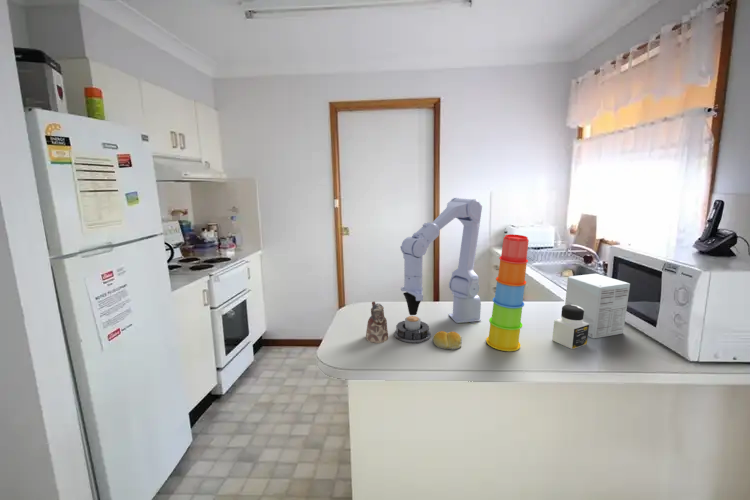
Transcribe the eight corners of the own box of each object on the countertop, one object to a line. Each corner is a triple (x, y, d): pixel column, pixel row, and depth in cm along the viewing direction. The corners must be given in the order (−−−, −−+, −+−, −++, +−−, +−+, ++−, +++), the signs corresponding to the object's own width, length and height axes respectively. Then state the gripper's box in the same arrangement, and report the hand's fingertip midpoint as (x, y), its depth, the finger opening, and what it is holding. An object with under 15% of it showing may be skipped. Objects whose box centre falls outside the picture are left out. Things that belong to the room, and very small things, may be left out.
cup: (417, 329, 126) (417, 314, 125) (422, 335, 121) (422, 320, 120) (403, 331, 125) (403, 316, 124) (407, 337, 120) (407, 322, 119)
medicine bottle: (572, 349, 112) (576, 312, 110) (551, 340, 118) (555, 305, 116) (587, 344, 115) (591, 308, 113) (566, 336, 122) (570, 301, 119)
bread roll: (433, 337, 122) (434, 326, 121) (461, 340, 120) (462, 328, 119) (431, 348, 114) (431, 336, 113) (461, 352, 112) (461, 339, 111)
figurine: (370, 344, 117) (370, 308, 114) (363, 335, 123) (362, 301, 121) (391, 340, 119) (391, 305, 117) (382, 332, 126) (382, 298, 123)
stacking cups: (505, 335, 123) (513, 231, 115) (527, 348, 113) (537, 237, 106) (479, 339, 119) (485, 233, 112) (499, 354, 110) (507, 239, 103)
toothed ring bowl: (424, 326, 130) (424, 318, 129) (435, 341, 118) (435, 332, 118) (390, 329, 128) (390, 320, 127) (399, 344, 116) (399, 335, 116)
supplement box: (624, 333, 123) (631, 283, 119) (593, 339, 119) (600, 287, 115) (590, 319, 135) (596, 272, 132) (561, 323, 132) (566, 276, 128)
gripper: (395, 269, 125) (395, 307, 128) (407, 281, 111) (406, 324, 114) (416, 268, 126) (415, 305, 129) (429, 280, 112) (428, 322, 115)
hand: (412, 314), depth 122 cm, fingers closed
